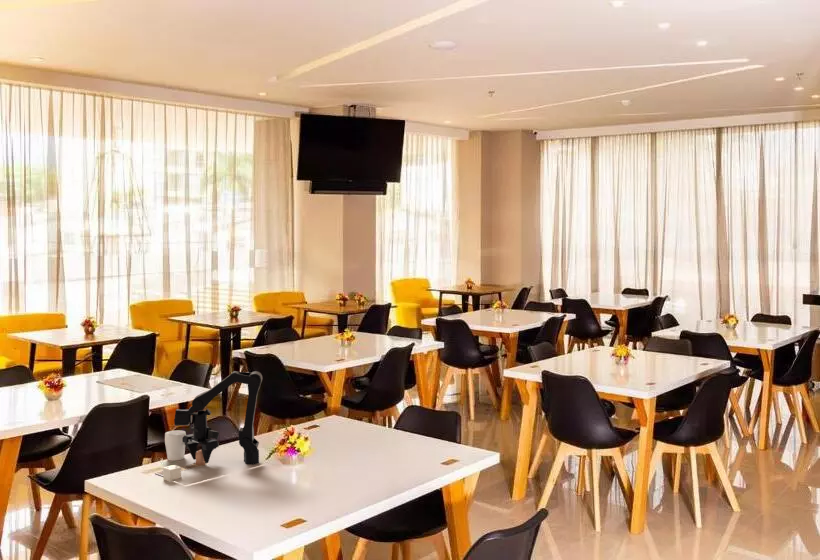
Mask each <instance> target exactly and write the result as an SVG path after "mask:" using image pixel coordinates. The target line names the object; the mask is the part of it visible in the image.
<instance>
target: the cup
mask: <svg viewBox="0 0 820 560" xmlns="http://www.w3.org/2000/svg"><path fill="white" fill-rule="evenodd" d="M184 435H187V433H186V431H185V430H181V429H178V430H176V429H175V430H174V429H173V430H169V431H166V432H165V433H164V444H165V450H166V457H167V460H168V461H173V462H175V461H181V460H183V459H185V451H186V445H185V444H184V442H183V440H182V438H183V437H184Z"/></svg>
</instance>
